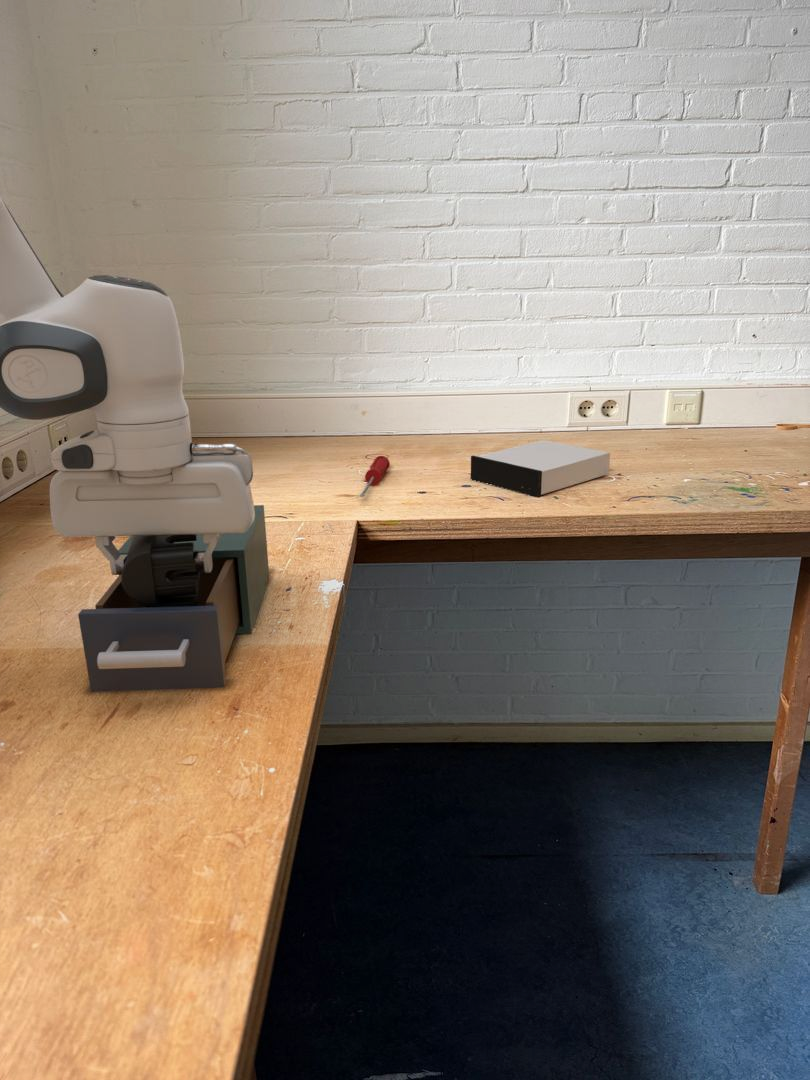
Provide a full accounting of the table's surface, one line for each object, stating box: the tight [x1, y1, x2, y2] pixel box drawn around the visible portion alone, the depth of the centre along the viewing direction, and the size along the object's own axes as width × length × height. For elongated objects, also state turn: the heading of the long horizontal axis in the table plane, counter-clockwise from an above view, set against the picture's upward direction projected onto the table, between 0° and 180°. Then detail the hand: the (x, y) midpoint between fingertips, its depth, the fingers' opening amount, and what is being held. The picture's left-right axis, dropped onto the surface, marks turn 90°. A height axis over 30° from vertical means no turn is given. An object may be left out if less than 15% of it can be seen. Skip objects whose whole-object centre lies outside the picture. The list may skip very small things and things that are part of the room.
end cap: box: [121, 534, 200, 608], centre depth 85 cm, size 10×7×7 cm
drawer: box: [77, 557, 241, 693], centre depth 86 cm, size 21×14×9 cm, turn 2°
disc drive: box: [470, 439, 611, 498], centre depth 161 cm, size 18×22×5 cm
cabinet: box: [117, 504, 270, 635], centre depth 103 cm, size 18×15×11 cm
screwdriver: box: [359, 455, 391, 498], centre depth 156 cm, size 4×25×4 cm, turn 173°
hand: (162, 572), depth 85 cm, fingers closed on end cap, 7 cm apart
